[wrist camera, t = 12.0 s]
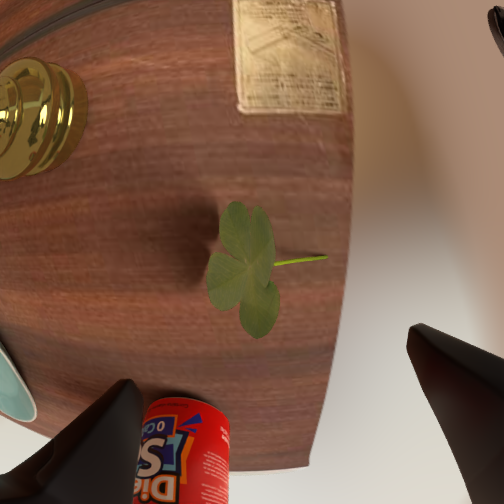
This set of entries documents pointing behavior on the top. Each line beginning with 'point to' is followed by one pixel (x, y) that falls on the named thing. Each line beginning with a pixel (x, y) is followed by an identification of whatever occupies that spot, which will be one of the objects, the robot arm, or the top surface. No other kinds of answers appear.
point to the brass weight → (39, 116)
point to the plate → (14, 391)
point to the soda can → (183, 454)
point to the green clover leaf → (247, 269)
